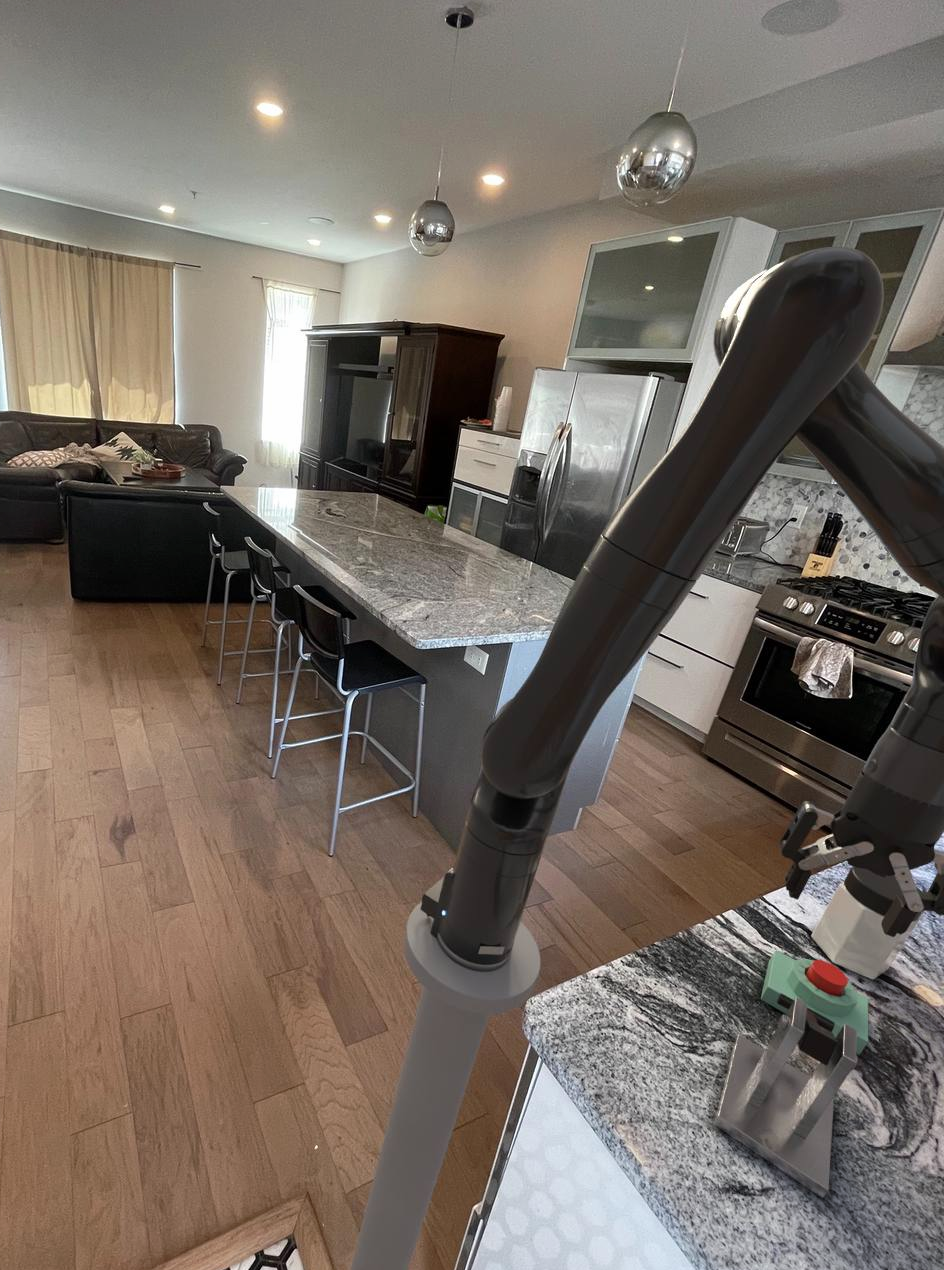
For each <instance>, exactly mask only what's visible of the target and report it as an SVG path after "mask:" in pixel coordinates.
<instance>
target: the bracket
mask: <svg viewBox="0 0 944 1270" xmlns="http://www.w3.org/2000/svg"><path fill="white" fill-rule="evenodd" d="M806 1012H807V1003H806V1002H804V1001H802V1000H800V999H799V998H797V997H796V998H795V1000H794V1001H793V1003H792V1005H791V1007H790V1008H789V1010H788V1012H787V1014H785V1013H783V1014H782V1015H781V1016H780V1018H779V1020H778V1023H777V1029H776V1031H775V1033H774V1034H773V1036H772V1038H771V1039H770V1042H769V1043H768V1045H767V1046H766V1049H765V1048H762V1047H761V1046H759V1045H758V1044H756V1043H754V1042H753V1041H751V1040H750V1039H748V1038H746V1037H745V1036H743V1035H741V1034H739V1033H738V1034H737V1036H736V1038H735V1040H734V1042H733V1046H732V1050H731V1054H730V1058H729V1061H728V1066H727V1070H726V1074H725V1077H724V1078H725V1079H724V1083H723V1087H722V1090H721V1094H720V1098H719V1102H718V1105H717V1106H718V1107H717V1109H716V1113H715V1114H716V1115H715V1118H714V1122H713V1125H714V1126H715V1127H717V1128H718V1129H720V1130H721V1131H723V1132H724V1133H726V1134H727V1135H729V1136H730V1137H731V1138H733V1139H734V1140H736V1141H738V1142H739V1143H741V1144H742V1145H743V1146H745V1147H746V1148H748V1149H749V1150H751V1151H752V1152H754V1153H755V1154H757V1155H758V1156H759V1157H761V1158H763V1159H764V1160H766V1161H767V1162H768V1163H770V1164H771V1165H773V1166H774V1167H776V1168H777V1169H778V1170H780V1171H782V1172H783V1173H785V1175H787V1176H789V1177H790V1178H792V1179H793V1180H795V1181H796V1182H798V1183H800V1184H801V1185H802V1186H804V1187H806V1188H807V1189H808V1190H809V1191H811V1192H812V1193H814V1194H815V1195H816V1196H818V1197H820V1198H821V1199H824V1197H825V1196H826V1195H827V1193H828V1192H829V1189H830V1188H829V1187H830V1172H831V1171H830V1170H831V1155H832V1153H831V1152H832V1138H833V1121H834V1120H833V1119H834V1102H835V1095H836V1094H837V1092H838V1091H839V1090H840V1088H841V1086H843V1083H844V1082H845V1081H846V1079H847V1078H848V1076H849V1074H851V1071H854V1069H855V1068H856V1066H857V1064H858V1060H859V1057H858V1054H857V1053H856V1045H857V1030H855V1029H853V1028H852V1027H850V1026H848V1025H846V1024H844V1026H843V1027H842V1029H841V1030H840V1032H839V1033H838V1035H837V1037H836V1038H835V1039H836V1041H837V1044H836V1047H835V1049H834V1051H833V1053H832V1055H831V1058H830V1060H829V1062H828V1064H827V1066H826V1065H824V1064H822V1063H821V1062H819V1064H818V1065H817V1067H816V1069H815V1070H814V1072H813V1073H812V1075H811V1076H810V1075H808V1074H806V1073H805V1072H803V1071H802V1070H800V1069H798V1068H796V1067H795V1066H793V1065H791V1064H789V1063H788V1061H789V1059H790V1057H791V1055H792V1054H793V1052H794V1051H795V1049H796V1047H797V1046H798V1042H799V1040H800V1039H801V1037H802V1035H803V1034H804V1028H805V1020H806Z"/></svg>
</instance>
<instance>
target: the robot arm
mask: <svg viewBox="0 0 944 1270" xmlns="http://www.w3.org/2000/svg"><path fill="white" fill-rule="evenodd" d="M884 299H885V291H884V281H883V278H882V274H881V272H880V270H879V268H878V266H877V264H876V263H875V261H874V260H873V259H872V258H871V257H870V256H868V255H867V254H866V253H864V252H862V251H861V250H859V249H855V248H853V247H848V246H827V247H820V248H816V249H811V250H807V251H805V252H802V253H799V254H795V255H794V256H790V257H788V258H787V259H784V260H783V261H781V262H779V263H778V264H775V265H773V266H771V267H769V268H767V269H765V270H763V271H762V272H759V273H758V274H755V275H754V276H753V277H751V278H750V279H749V280H747V281H746V282H745V283H743V284H742V285H741V286H739V287H738V288H737V289H736V290H735V291H734V292H733V293H732V294H731V295H730V296H729V298H728V300H727V301H726V302H725V304H724V305H723V307H722V309H721V310H720V313H719V314H718V317H717V320H716V324H715V327H714V332H713V344H712V345H713V350H714V351H713V352H714V357H715V359H716V362H717V364H718V367H719V368H718V369H717V372H716V374H715V375H714V377H713V379H712V381H711V383H710V385H709V387H708V389H707V391H706V392H705V394H704V396H703V398H702V400H701V402H700V403H699V405H698V407H697V409H696V410H695V412H694V414H693V415H692V417H691V419H690V420H689V423H688V424H687V425H686V427H685V428H684V429H683V431H682V432H681V434H680V436H679V437H678V438H677V439H676V440H675V442H674V443H673V444H672V445H671V447H670V448H669V449H668V450H667V451H666V453H665V454H664V455H663V456H662V457H661V458H660V460H659V461H657V463H656V464H655V465H654V466H653V467H652V468H651V470H649V472H648V473H646V475H645V476H643V479H641V480H640V482H639V483H638V484H637V485H636V486H635V487H634V489H633V490H632V491H631V492H630V493H629V494H628V495H627V496H626V498H625V499H624V500H623V502H622V503H621V504H620V505H619V507H618V508H617V510H616V511H615V512H614V513H613V515H612V516H611V518H610V520H609V521H608V522H607V524H606V525H605V527H604V528H603V530H602V532H601V534H600V535H599V536H598V539H597V541H596V542H595V544H594V546H593V547H592V548H591V551H590V552H589V554H588V556H586V557H587V558H586V559H585V561H584V563H583V564H582V566H581V568H580V570H579V572H578V573H577V576H576V578H575V579H574V582H573V584H572V585H571V588H570V589H569V591H568V594H567V596H566V598H565V600H564V601H563V604H562V606H561V608H560V611H559V613H558V615H557V617H556V619H555V621H554V624H553V626H552V629H551V631H550V632H549V635H548V638H547V640H546V643H545V645H544V647H543V649H542V652H541V654H540V656H539V658H538V660H537V661H536V663H535V665H534V667H533V669H532V671H531V672H530V673H529V675H528V676H527V678H526V680H525V681H524V683H523V684H522V685H521V687H520V688H519V689H518V690H517V692H516V693H515V695H514V696H513V698H511V699H509V700H507V702H505V703H504V704H503V705H502V706H501V707H500V709H499V710H498V712H497V713H496V715H495V716H494V718H493V719H492V721H491V722H490V724H489V725H488V726H487V728H486V730H485V732H484V734H483V737H482V740H481V745H480V762H481V767H482V769H481V772H480V775H479V777H478V780H477V783H476V785H475V788H474V790H473V793H472V795H471V797H470V800H469V805H468V807H467V808H468V809H467V813H466V817H465V821H464V825H463V829H462V832H461V836H460V840H459V844H458V848H457V852H456V856H455V859H454V863H453V866H452V867H451V868H450V869H448V870H447V871H446V872H445V874H444V875H443V876H442V877H441V878H439V880H438V881H436V883H434V884H433V886H431V887H430V888H429V889H428V890H427V891H426V892H425V893H423V895H422V897H421V902H422V905H421V909H420V910H422V911H423V912H425V913H426V914H427V917H430V916H431V917H432V918H434V920H433V924H432V928H431V932H430V933H431V935H433V936H434V937H435V938H437V941H438V944H439V946H440V947H441V949H442V950H443V952H444V953H445V954H446V955H447V956H448V957H449V958H450V959H451V960H453V961H454V962H455V963H457V964H459V965H460V966H462V967H465V968H467V969H470V970H474V971H480V972H489V971H495V970H498V969H500V968H501V967H503V966H504V965H505V964H506V963H507V962H508V960H509V958H510V955H511V952H512V947H513V944H514V940H515V937H516V934H517V931H518V928H519V924H520V921H521V922H522V918H523V915H524V911H525V908H526V906H527V903H528V899H529V897H530V893H531V890H532V887H533V884H534V881H535V877H536V874H537V871H538V868H539V865H540V861H541V858H542V855H543V852H544V849H545V846H546V843H547V840H548V837H549V835H550V831H551V829H552V825H553V822H554V819H555V815H556V813H557V809H558V807H559V804H560V800H561V796H562V793H563V790H564V787H565V784H566V781H567V777H568V775H569V772H570V768H571V766H572V763H573V762H574V760H575V757H576V755H577V753H578V751H579V749H580V747H581V746H582V743H583V741H584V739H585V738H586V736H587V734H588V733H589V730H590V729H591V727H592V725H593V723H594V721H595V720H596V719H597V716H598V715H599V713H600V711H601V710H602V709H603V706H604V705H605V704H606V702H607V701H608V699H609V698H610V696H611V695H612V694H613V693H614V691H616V689H617V687H619V685H620V684H621V683H622V682H623V681H624V679H625V678H626V677H627V676H628V675H629V674H630V672H631V671H632V670H633V669H634V668H635V666H636V665H637V663H638V662H640V660H641V659H642V657H643V656H644V655H645V653H647V651H648V650H649V648H650V647H651V646H652V644H653V643H654V642H655V641H656V639H657V638H658V637H659V636H660V634H661V633H662V631H663V630H664V629H665V627H666V626H667V625H668V623H670V621H671V620H672V618H673V617H674V615H675V614H676V613H677V611H678V610H679V608H680V607H681V605H682V604H683V603H684V601H685V600H686V598H687V597H688V596H689V594H690V592H691V591H692V589H693V588H694V586H696V583H697V581H699V579H700V578H701V576H702V575H703V572H705V569H706V568H707V567H708V564H709V563H710V561H711V560H712V558H713V557H714V556H715V553H716V552H717V550H718V549H719V547H720V546H721V545H722V543H723V541H724V540H725V539H726V537H727V536H728V534H729V533H730V531H731V529H732V528H733V527H734V526H735V524H736V523H737V520H738V519H739V518H740V516H741V514H742V513H743V512H744V510H745V508H746V507H747V505H748V503H749V502H750V500H751V499H752V497H753V495H754V494H755V492H756V490H757V489H758V487H759V486H760V484H761V483H762V482H763V480H764V478H765V477H766V475H767V473H768V472H769V471H770V469H771V468H772V467H773V465H775V462H777V460H778V459H779V457H780V456H781V454H782V453H783V452H784V451H785V450H786V448H787V447H788V445H789V444H790V443H791V442H792V440H793V439H794V438H796V439H797V440H798V441H799V442H800V443H801V444H802V445H803V446H804V447H805V448H806V450H808V452H810V454H811V455H812V456H813V457H814V458H815V459H816V460H817V462H818V463H819V464H820V465H821V466H822V468H823V469H824V470H825V471H826V473H827V474H828V475H829V476H830V477H831V478H832V480H833V482H835V484H836V485H837V486H838V487H839V489H840V490H841V491H842V493H843V494H844V495H845V496H846V498H847V499H848V500H849V502H850V503H851V504H852V506H853V507H854V508H855V509H856V511H857V513H859V515H860V516H861V518H862V519H863V520H864V522H865V523H866V525H868V527H869V528H870V530H871V531H872V532H873V534H874V535H875V537H876V538H877V539H878V540H879V542H880V543H881V544H882V545H883V547H884V548H885V549H886V551H887V552H888V553H889V555H890V556H891V557H892V558H893V560H894V561H895V562H896V564H897V565H898V566H899V568H900V569H901V570H902V571H903V572H904V573H905V574H906V575H907V576H908V577H909V578H910V579H911V580H912V581H914V582H916V583H917V584H919V585H921V586H922V587H925V588H926V589H928V590H929V591H932V592H934V593H935V594H937V596H936V597H935V599H934V600H933V602H932V603H931V604H930V606H929V608H928V610H927V613H926V615H925V618H924V620H923V623H922V626H921V631H920V635H919V639H918V644H917V650H916V654H915V659H914V663H913V672H912V679H911V684H910V687H909V689H908V691H907V692H906V694H905V695H904V696H903V699H902V700H901V702H900V705H899V706H898V708H897V710H896V712H895V714H894V716H893V717H892V720H891V721H890V724H889V725H888V727H887V728H886V729H885V731H884V733H882V735H881V736H880V738H879V739H878V740H877V742H876V744H875V745H874V747H873V748H872V750H871V752H870V754H869V756H868V758H867V760H866V761H865V763H864V766H863V767H862V769H861V771H860V773H859V775H858V776H857V779H856V780H855V782H854V784H853V787H852V788H851V790H850V792H849V794H848V796H847V798H846V799H845V801H844V804H843V805H842V808H840V810H838V811H836V812H835V813H831V812H829V811H825V810H823V809H820V808H818V807H816V806H815V805H816V804H815V803H814V802H812V801H810V800H804V801H803V802H801V804H800V805H799V807H798V809H797V811H796V812H795V814H794V816H793V817H792V819H791V821H790V822H789V824H788V826H787V828H785V831H784V833H782V836H781V838H780V840H779V845H780V849H781V850H780V851H781V855H782V856H783V857H784V858H786V859H790V860H791V861H792V864H791V866H790V868H789V869H788V872H787V873H786V876H785V878H784V883H785V889H786V891H787V892H788V897H790V898H792V899H794V900H799V899H800V897H801V895H802V893H803V891H804V889H805V887H806V886H807V884H808V882H809V880H810V878H811V876H812V873H813V872H812V870H813V869H816V868H819V867H822V866H824V865H825V866H826V865H827V866H832V865H835V864H838V863H841V862H844V861H846V862H847V865H849V866H851V867H852V866H854V867H857V868H863V869H868V870H869V871H871V872H873V873H874V874H876V875H879V876H882V877H884V878H885V876H896V879H897V881H898V884H899V886H900V889H901V892H902V894H903V895H902V896H898V895H897V897H896V898H895V900H894V902H893V903H892V905H891V907H890V908H889V910H888V912H887V913H886V915H885V916H884V918H883V920H882V923H881V925H882V928H883V931H884V934H886V935H889V936H891V937H895V936H896V934H897V933H898V934H903V933H905V932H906V931H907V929H908V927H909V926H910V924H911V923H912V921H913V920H914V918H915V916H916V915H917V913H918V912H920V911H923V912H924V911H928V912H934V913H935V914H937V915H938V916H944V851H943V850H939V849H936V848H935V846H936V844H937V842H938V841H940V839H941V837H942V836H943V834H944V446H943V445H942V444H941V443H940V442H939V441H937V440H936V439H935V438H934V437H932V436H931V435H930V434H929V433H928V432H926V431H925V430H923V428H922V427H920V426H919V425H918V424H916V423H915V422H914V421H913V420H912V419H910V418H909V417H908V416H906V415H905V413H903V412H902V411H901V410H900V409H899V408H898V407H897V406H896V405H895V404H893V403H892V402H891V401H890V399H888V398H887V396H886V395H885V394H884V393H883V392H882V391H881V390H880V389H879V387H878V386H877V385H876V384H875V383H874V382H873V380H872V379H871V378H870V376H869V375H868V374H867V372H866V370H865V369H864V368H863V366H862V365H861V362H859V359H860V357H861V356H862V355H863V354H864V352H865V350H866V349H867V348H868V346H869V344H870V342H871V340H872V338H873V337H874V334H875V332H876V330H877V328H878V325H879V323H880V319H881V315H882V312H883V306H884ZM823 826H829V827H830V831H831V833H830V834H827V835H825V836H822V837H820V838H818V839H817V840H816V841H815V842H814V843H811V844H808V845H805V846H804V847H802V846H803V844H804V842H805V840H806V838H807V837H808V836H809V835H810V832H811V831H813V830H814V831H817V830H819V829H820V828H822V827H823ZM932 862H933V863H934V865H933V866H934V869H935V871H936V875H935V876H934V879H933V880H932V882H931V885H930V886H929V889H928V890H927V891H922V890H921V891H918V890H917V887H918V886H917V884H916V882H915V880H914V877H913V875H912V870H915V869H918V868H920V867H923V866H927V865H928V864H931V863H932ZM916 886H917V887H916Z"/></svg>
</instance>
